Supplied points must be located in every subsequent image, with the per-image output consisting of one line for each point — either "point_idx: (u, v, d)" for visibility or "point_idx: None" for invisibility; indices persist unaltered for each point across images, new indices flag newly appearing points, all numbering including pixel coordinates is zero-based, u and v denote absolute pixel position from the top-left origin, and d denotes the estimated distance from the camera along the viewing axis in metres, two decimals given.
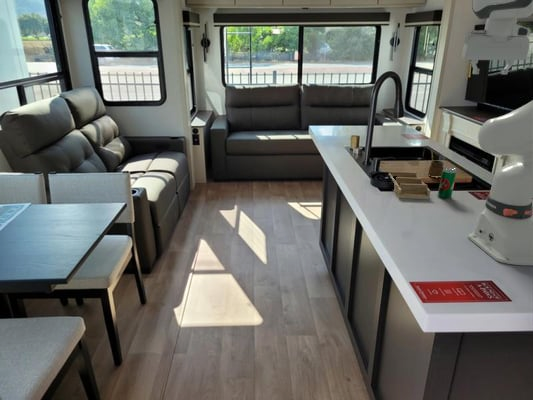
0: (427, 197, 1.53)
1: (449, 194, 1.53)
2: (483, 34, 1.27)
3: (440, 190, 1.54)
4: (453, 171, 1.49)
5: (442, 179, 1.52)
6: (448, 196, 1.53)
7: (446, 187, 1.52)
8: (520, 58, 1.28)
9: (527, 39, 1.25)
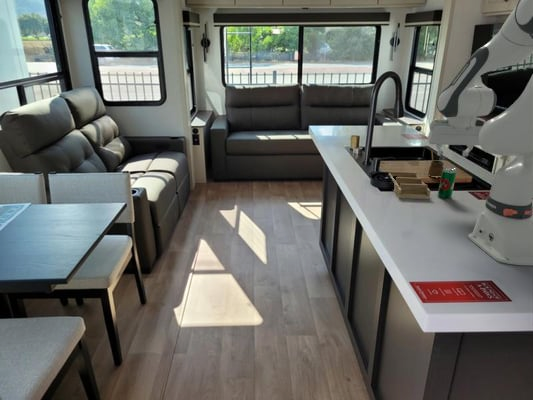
0: (427, 197, 1.53)
1: (449, 194, 1.53)
2: (446, 122, 1.44)
3: (440, 190, 1.54)
4: (453, 171, 1.49)
5: (442, 179, 1.52)
6: (448, 196, 1.53)
7: (446, 187, 1.52)
8: (478, 144, 1.45)
9: None
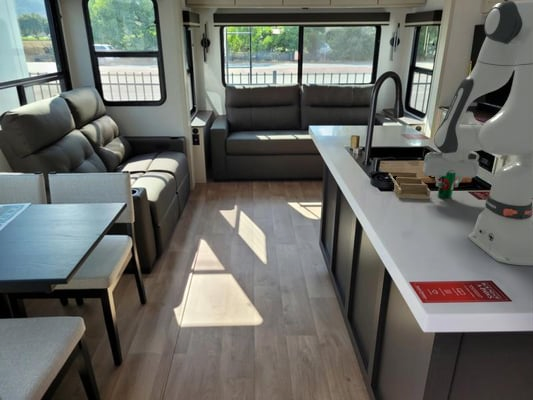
0: (427, 197, 1.53)
1: (449, 194, 1.53)
2: (439, 155, 1.49)
3: (440, 190, 1.54)
4: (453, 171, 1.49)
5: (442, 179, 1.52)
6: (448, 196, 1.53)
7: (446, 187, 1.52)
8: (471, 176, 1.49)
9: (476, 162, 1.46)
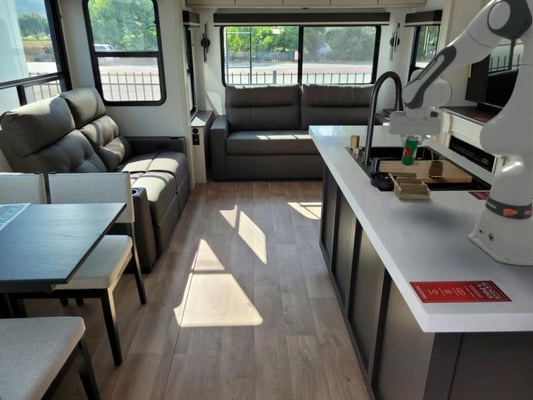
0: (427, 197, 1.53)
1: (411, 161, 1.60)
2: (403, 114, 1.54)
3: (403, 157, 1.61)
4: (415, 139, 1.56)
5: (405, 146, 1.59)
6: (410, 163, 1.60)
7: (408, 155, 1.59)
8: (434, 134, 1.55)
9: (438, 120, 1.52)
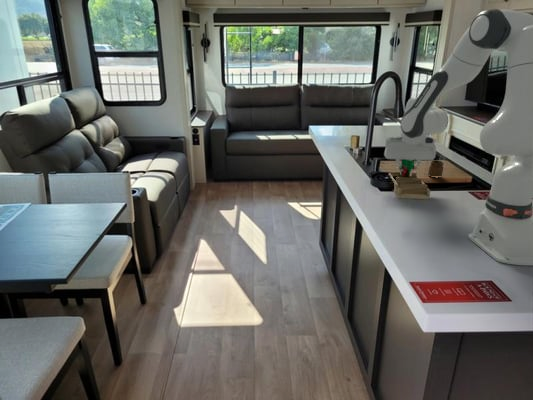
0: (427, 197, 1.53)
1: None
2: (399, 139, 1.58)
3: (399, 176, 1.65)
4: None
5: None
6: None
7: (404, 174, 1.63)
8: (429, 159, 1.59)
9: (433, 145, 1.56)
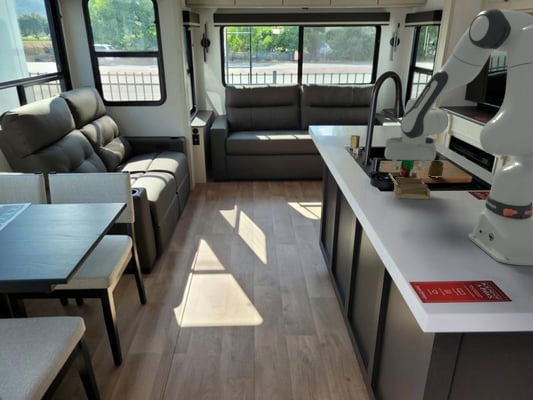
0: (427, 197, 1.53)
1: None
2: (400, 140, 1.58)
3: (399, 176, 1.65)
4: None
5: (401, 166, 1.63)
6: None
7: (404, 174, 1.63)
8: (430, 159, 1.59)
9: (433, 146, 1.56)
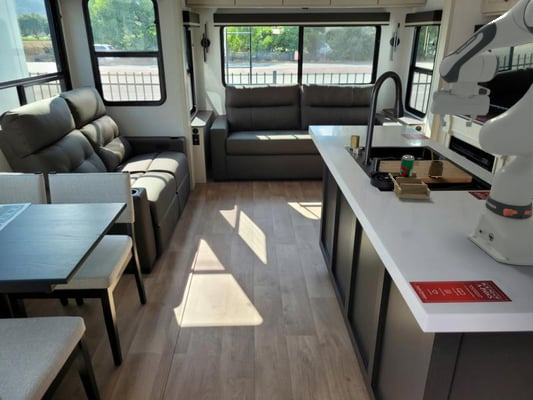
0: (427, 197, 1.53)
1: None
2: (448, 92, 1.43)
3: (399, 176, 1.65)
4: (410, 158, 1.60)
5: (401, 166, 1.63)
6: None
7: (404, 174, 1.63)
8: (482, 113, 1.43)
9: (487, 97, 1.40)
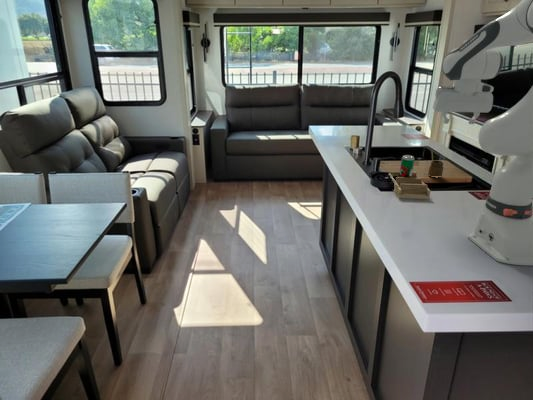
0: (427, 197, 1.53)
1: None
2: (452, 89, 1.42)
3: (399, 176, 1.65)
4: (410, 158, 1.60)
5: (401, 166, 1.63)
6: None
7: (404, 174, 1.63)
8: (485, 111, 1.42)
9: (490, 95, 1.39)
